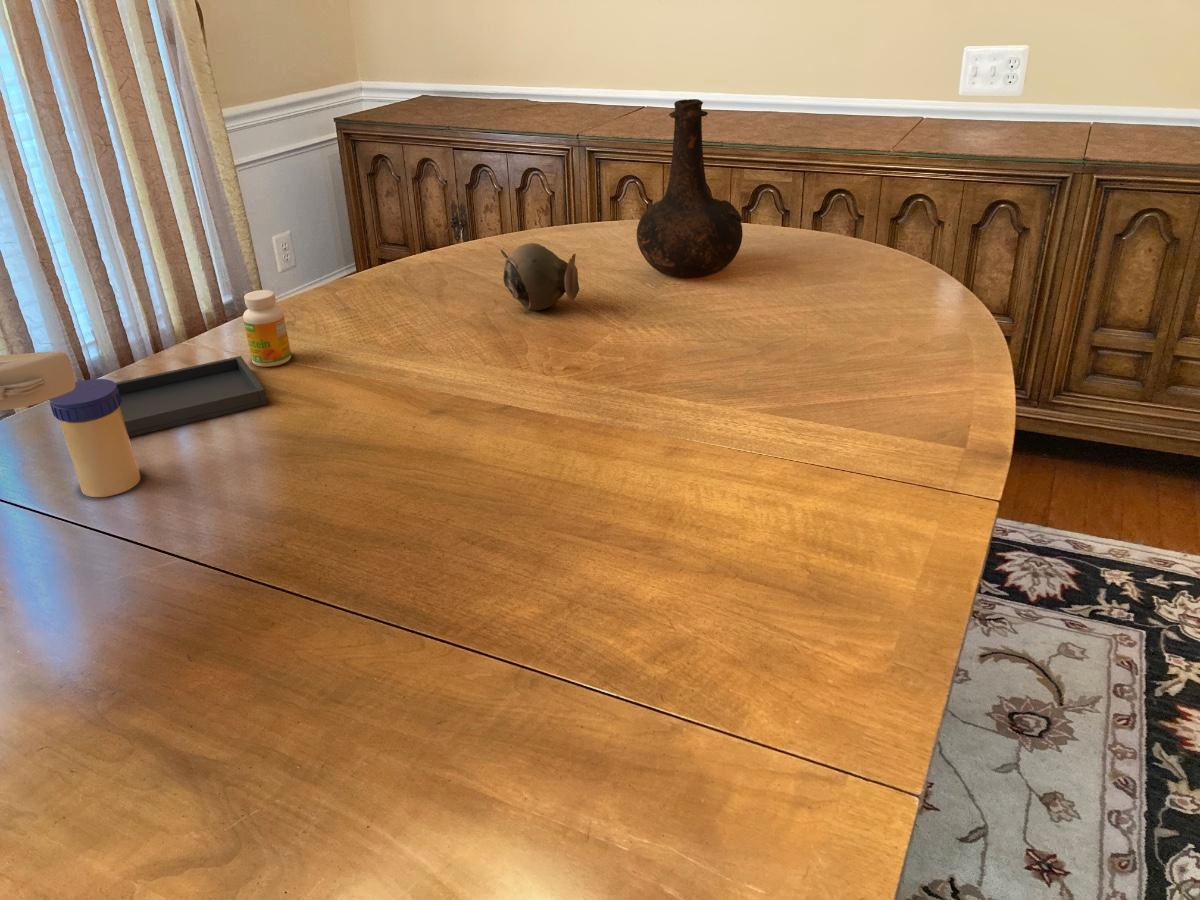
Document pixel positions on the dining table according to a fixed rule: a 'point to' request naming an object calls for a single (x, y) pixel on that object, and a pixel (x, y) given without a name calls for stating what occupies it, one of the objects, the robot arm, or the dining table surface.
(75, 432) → the jar
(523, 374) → the dining table surface
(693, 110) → the glass bottle
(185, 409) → the tray
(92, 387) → the lid
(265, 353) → the supplement bottle
